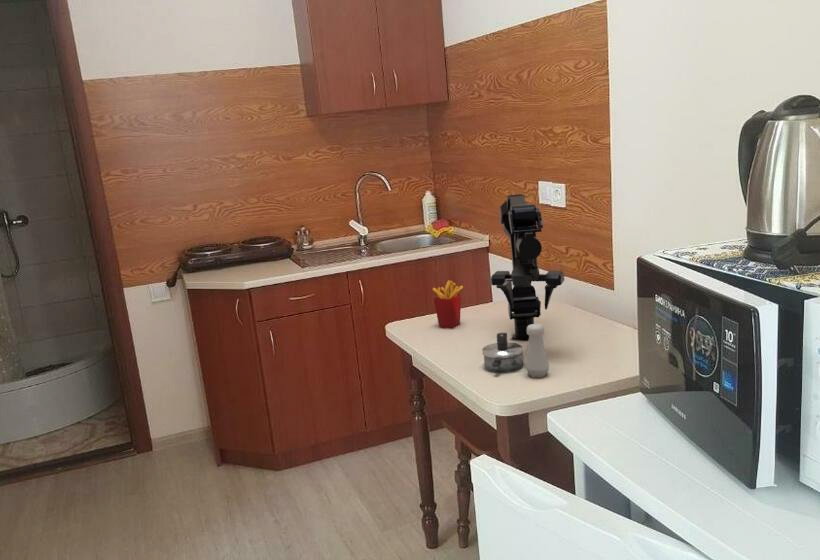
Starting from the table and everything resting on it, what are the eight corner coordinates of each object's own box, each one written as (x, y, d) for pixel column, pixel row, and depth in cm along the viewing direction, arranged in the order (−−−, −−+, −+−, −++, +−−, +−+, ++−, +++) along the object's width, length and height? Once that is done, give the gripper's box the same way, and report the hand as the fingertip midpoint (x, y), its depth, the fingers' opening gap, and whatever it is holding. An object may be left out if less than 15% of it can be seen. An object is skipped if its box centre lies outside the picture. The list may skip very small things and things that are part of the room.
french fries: (435, 328, 227) (431, 282, 224) (448, 321, 234) (444, 276, 231) (459, 330, 223) (455, 283, 219) (472, 323, 229) (468, 277, 226)
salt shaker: (549, 378, 177) (546, 328, 174) (525, 379, 178) (522, 329, 175) (549, 370, 182) (547, 321, 179) (526, 370, 183) (523, 322, 181)
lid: (488, 344, 194) (487, 327, 193) (527, 345, 190) (526, 328, 189) (477, 357, 185) (476, 339, 184) (518, 359, 181) (517, 341, 180)
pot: (492, 355, 197) (492, 341, 196) (529, 357, 193) (528, 342, 192) (477, 375, 183) (476, 360, 182) (515, 377, 180) (514, 362, 179)
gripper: (483, 259, 186) (487, 316, 190) (555, 258, 179) (558, 318, 183) (494, 250, 196) (498, 305, 200) (563, 249, 189) (566, 306, 193)
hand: (529, 309), depth 194 cm, fingers open, 9 cm apart
